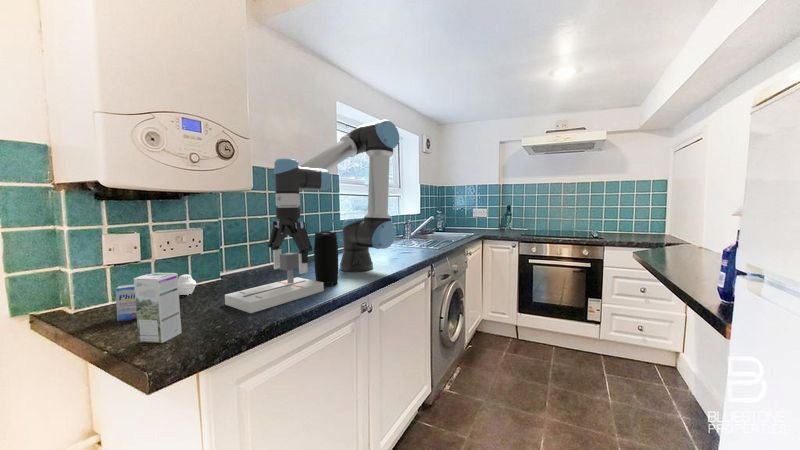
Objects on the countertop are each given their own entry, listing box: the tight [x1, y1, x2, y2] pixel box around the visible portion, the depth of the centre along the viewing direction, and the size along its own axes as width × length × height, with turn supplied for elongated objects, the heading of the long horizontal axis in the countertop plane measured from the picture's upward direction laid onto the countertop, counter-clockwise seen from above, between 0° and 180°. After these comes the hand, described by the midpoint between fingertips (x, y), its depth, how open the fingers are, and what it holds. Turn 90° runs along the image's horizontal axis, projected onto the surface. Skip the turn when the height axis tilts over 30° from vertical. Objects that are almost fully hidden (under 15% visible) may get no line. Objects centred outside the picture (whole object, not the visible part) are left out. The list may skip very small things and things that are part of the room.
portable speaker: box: [313, 230, 339, 288], centre depth 115 cm, size 9×9×20 cm
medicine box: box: [115, 283, 137, 322], centre depth 84 cm, size 8×4×9 cm, turn 123°
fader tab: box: [279, 251, 299, 284], centre depth 103 cm, size 5×4×10 cm
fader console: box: [224, 276, 325, 314], centre depth 100 cm, size 26×14×3 cm, turn 145°
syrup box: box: [133, 272, 182, 344], centre depth 69 cm, size 6×6×14 cm
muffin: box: [178, 273, 197, 296], centre depth 104 cm, size 6×6×7 cm
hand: (290, 270), depth 103 cm, fingers open, 13 cm apart
